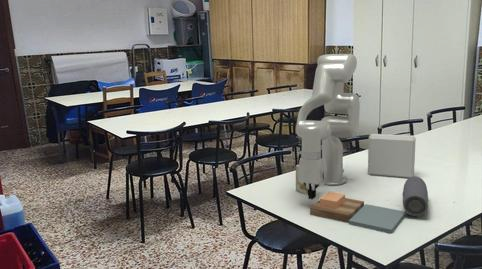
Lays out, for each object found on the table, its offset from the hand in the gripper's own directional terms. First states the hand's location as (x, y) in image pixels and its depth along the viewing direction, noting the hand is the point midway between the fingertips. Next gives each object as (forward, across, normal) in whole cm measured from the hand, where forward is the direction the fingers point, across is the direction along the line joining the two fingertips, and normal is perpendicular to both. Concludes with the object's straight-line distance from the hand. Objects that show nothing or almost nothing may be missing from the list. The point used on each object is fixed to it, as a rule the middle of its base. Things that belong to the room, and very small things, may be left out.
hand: (311, 198), depth 176 cm
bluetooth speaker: (+4, +36, +18) cm, 41 cm away
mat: (+4, +27, 0) cm, 27 cm away
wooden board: (+4, +11, 0) cm, 12 cm away
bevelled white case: (+4, +16, +54) cm, 56 cm away
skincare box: (+4, -11, +14) cm, 18 cm away
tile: (-1, +9, 0) cm, 9 cm away
